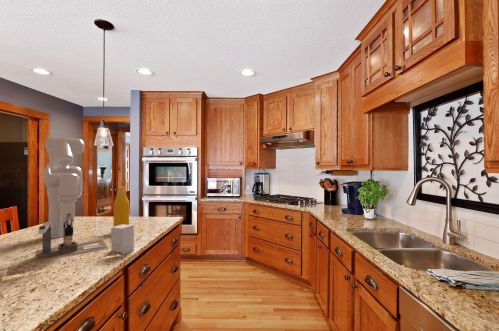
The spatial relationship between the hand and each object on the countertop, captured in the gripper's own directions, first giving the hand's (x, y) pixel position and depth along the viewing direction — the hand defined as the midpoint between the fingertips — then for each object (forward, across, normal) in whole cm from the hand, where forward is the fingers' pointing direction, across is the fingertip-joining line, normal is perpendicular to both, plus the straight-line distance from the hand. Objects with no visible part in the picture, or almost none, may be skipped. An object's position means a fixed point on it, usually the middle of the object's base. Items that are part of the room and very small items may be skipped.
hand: (68, 234), depth 119 cm
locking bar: (-5, +6, -9) cm, 12 cm away
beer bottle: (+9, -28, +30) cm, 42 cm away
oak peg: (+8, 0, 0) cm, 8 cm away
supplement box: (+10, +14, +21) cm, 27 cm away
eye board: (+9, 0, +2) cm, 10 cm away
